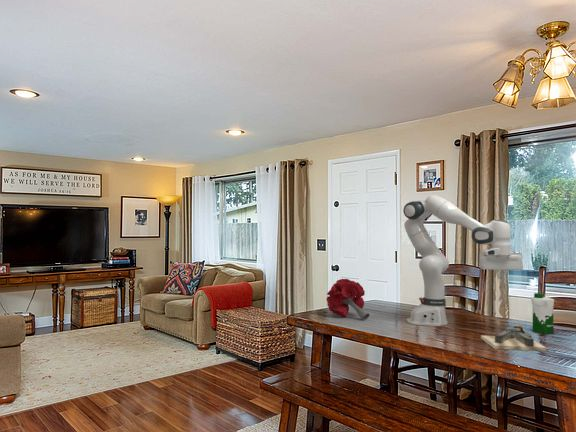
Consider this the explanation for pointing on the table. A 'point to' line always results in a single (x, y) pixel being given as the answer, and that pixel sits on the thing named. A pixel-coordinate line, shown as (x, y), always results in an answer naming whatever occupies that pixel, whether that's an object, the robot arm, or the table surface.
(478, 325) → the table surface
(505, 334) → the tongs arm
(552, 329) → the milk carton
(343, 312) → the bouquet
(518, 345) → the board
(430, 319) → the robot arm
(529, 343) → the tongs fixed
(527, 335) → the burger
